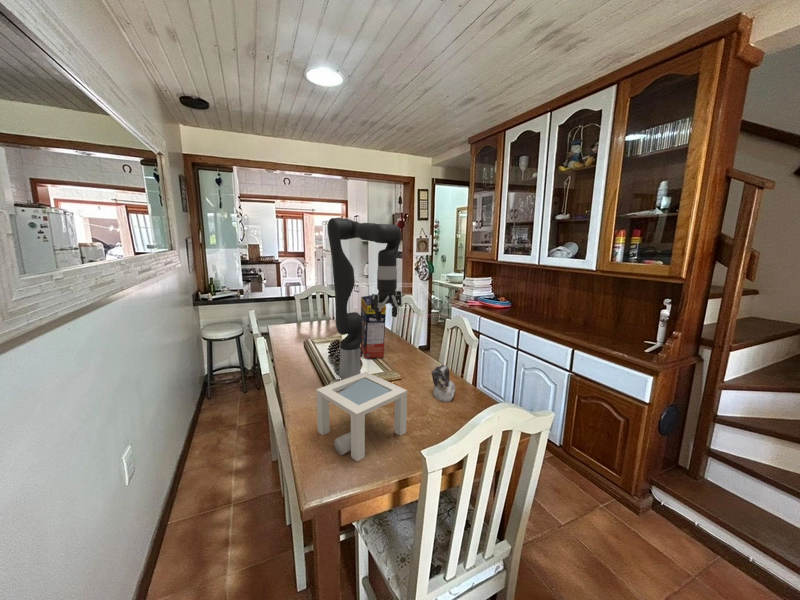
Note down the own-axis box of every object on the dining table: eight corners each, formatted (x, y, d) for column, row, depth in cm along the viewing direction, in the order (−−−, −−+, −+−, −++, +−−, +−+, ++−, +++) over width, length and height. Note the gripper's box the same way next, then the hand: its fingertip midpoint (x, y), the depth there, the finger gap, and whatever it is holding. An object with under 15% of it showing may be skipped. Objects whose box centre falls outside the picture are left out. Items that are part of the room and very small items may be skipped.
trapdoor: (333, 398, 115) (333, 396, 114) (364, 380, 124) (364, 377, 124) (359, 413, 105) (358, 411, 105) (390, 392, 114) (390, 390, 114)
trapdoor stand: (317, 431, 117) (316, 389, 114) (365, 409, 132) (365, 371, 129) (357, 461, 102) (356, 413, 99) (406, 432, 117) (407, 390, 114)
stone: (459, 406, 139) (446, 379, 134) (437, 412, 142) (423, 386, 137) (457, 384, 152) (445, 359, 146) (437, 390, 154) (424, 365, 149)
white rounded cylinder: (349, 427, 110) (334, 435, 106) (359, 435, 107) (344, 444, 102) (349, 441, 111) (334, 449, 107) (358, 449, 108) (343, 458, 104)
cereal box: (384, 359, 187) (387, 303, 181) (364, 359, 184) (366, 303, 178) (376, 344, 212) (378, 294, 206) (358, 344, 209) (360, 294, 204)
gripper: (393, 275, 135) (392, 314, 138) (366, 278, 125) (366, 319, 128) (406, 277, 130) (405, 317, 133) (380, 280, 120) (379, 323, 123)
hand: (386, 318), depth 130 cm, fingers open, 8 cm apart
